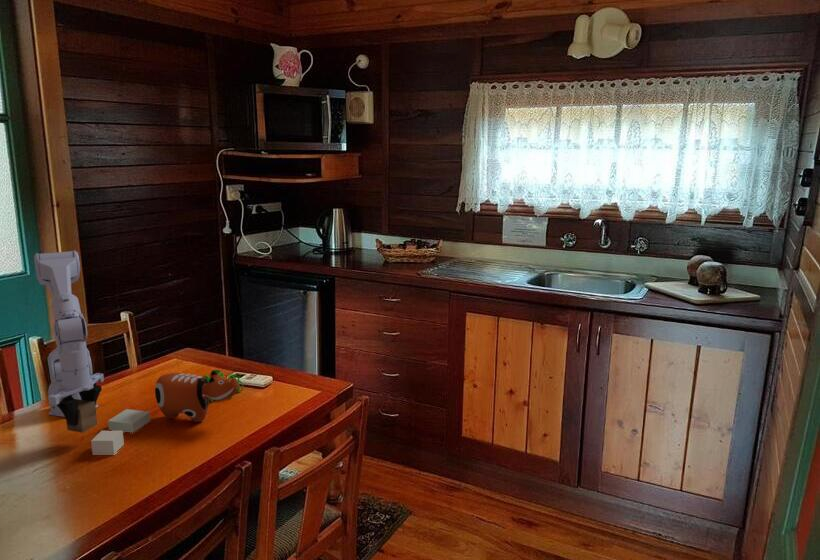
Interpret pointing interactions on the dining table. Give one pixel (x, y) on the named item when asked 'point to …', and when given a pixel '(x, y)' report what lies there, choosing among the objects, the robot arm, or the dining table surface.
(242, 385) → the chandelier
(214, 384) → the toy
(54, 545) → the dining table surface
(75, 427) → the walnut block
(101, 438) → the cream block
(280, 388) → the dining table surface
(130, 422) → the sage slab
